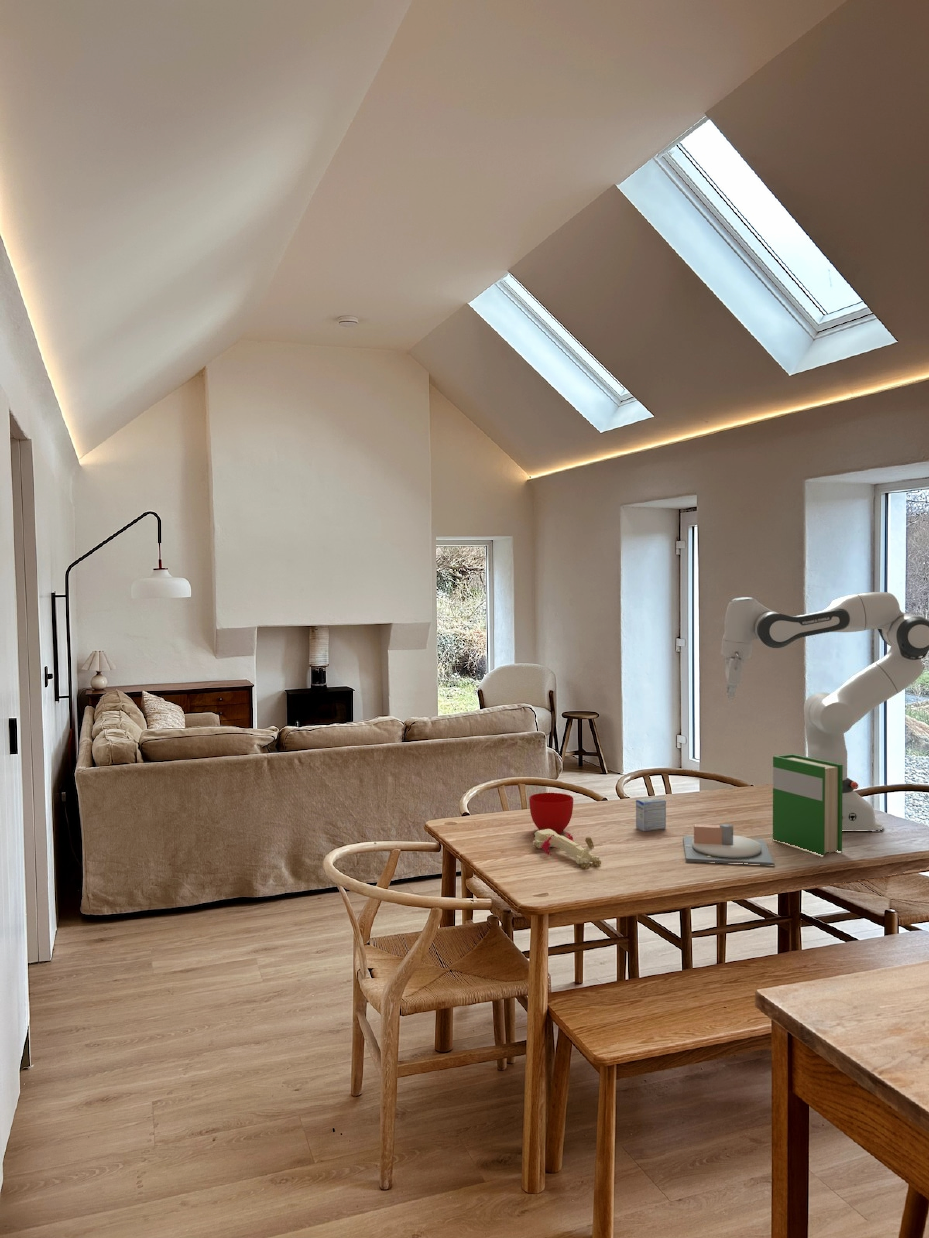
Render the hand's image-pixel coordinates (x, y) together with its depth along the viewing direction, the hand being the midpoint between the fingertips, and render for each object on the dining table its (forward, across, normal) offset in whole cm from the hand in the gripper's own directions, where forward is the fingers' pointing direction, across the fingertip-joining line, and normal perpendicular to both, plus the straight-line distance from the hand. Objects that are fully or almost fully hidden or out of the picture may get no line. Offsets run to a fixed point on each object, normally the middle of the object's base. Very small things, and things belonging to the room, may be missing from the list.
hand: (730, 695), depth 277 cm
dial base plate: (+37, -34, -2) cm, 50 cm away
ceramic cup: (+44, -21, +47) cm, 68 cm away
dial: (+36, -34, -2) cm, 49 cm away
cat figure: (+42, -46, +40) cm, 74 cm away
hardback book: (+36, -24, -24) cm, 49 cm away
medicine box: (+41, -14, +18) cm, 47 cm away
